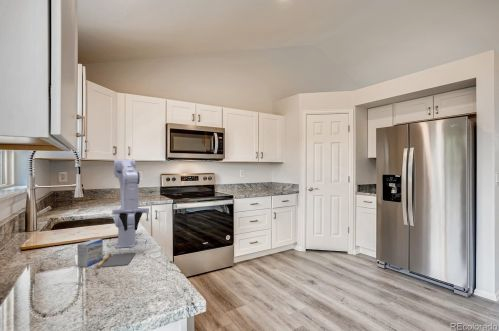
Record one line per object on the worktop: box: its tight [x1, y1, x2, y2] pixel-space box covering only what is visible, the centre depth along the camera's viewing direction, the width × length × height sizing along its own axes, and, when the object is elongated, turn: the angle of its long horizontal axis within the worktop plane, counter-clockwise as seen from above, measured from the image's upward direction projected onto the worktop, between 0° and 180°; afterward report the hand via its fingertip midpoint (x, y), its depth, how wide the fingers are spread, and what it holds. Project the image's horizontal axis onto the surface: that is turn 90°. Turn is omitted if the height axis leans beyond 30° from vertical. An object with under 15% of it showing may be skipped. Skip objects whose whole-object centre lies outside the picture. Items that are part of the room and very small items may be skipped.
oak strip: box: [96, 252, 112, 270], centre depth 100 cm, size 14×1×1 cm, turn 13°
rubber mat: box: [101, 252, 137, 268], centre depth 102 cm, size 14×9×1 cm, turn 13°
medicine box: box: [77, 238, 104, 268], centre depth 99 cm, size 8×4×9 cm, turn 168°
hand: (131, 230), depth 109 cm, fingers open, 3 cm apart
